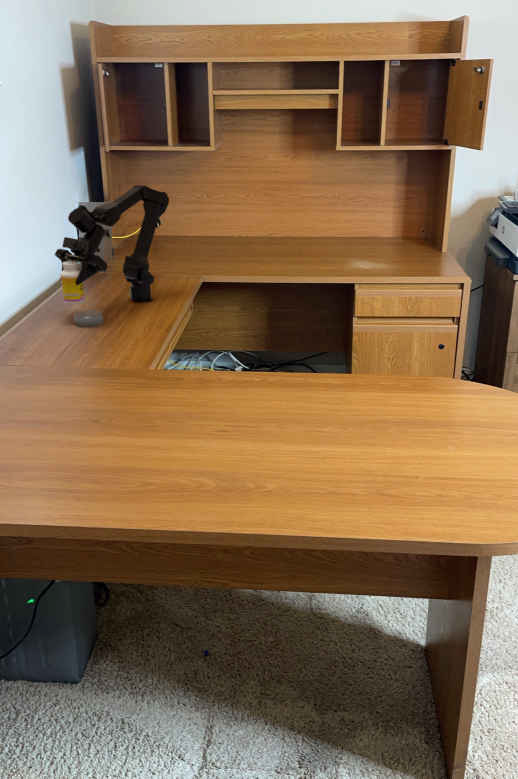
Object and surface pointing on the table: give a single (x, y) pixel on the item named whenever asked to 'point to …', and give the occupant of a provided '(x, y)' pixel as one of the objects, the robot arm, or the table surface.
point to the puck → (88, 318)
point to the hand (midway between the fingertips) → (68, 282)
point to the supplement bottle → (71, 284)
